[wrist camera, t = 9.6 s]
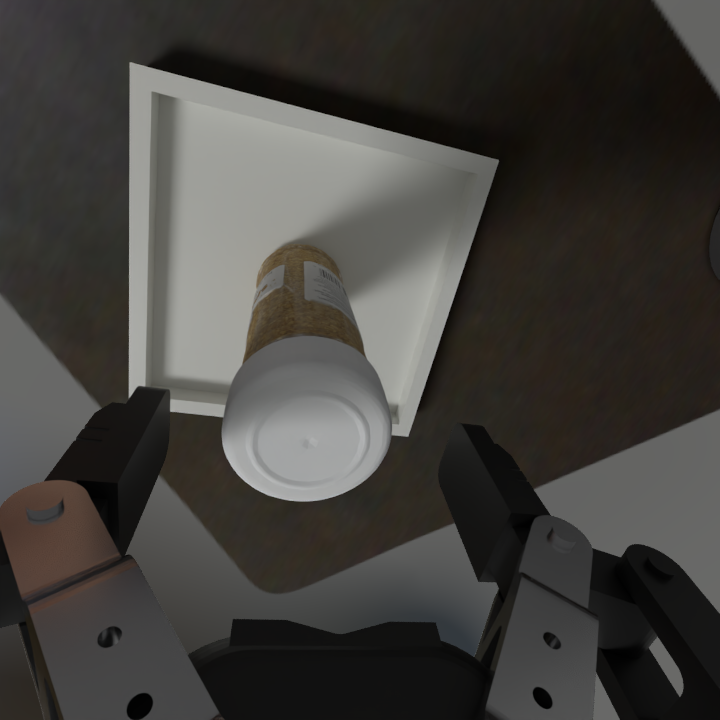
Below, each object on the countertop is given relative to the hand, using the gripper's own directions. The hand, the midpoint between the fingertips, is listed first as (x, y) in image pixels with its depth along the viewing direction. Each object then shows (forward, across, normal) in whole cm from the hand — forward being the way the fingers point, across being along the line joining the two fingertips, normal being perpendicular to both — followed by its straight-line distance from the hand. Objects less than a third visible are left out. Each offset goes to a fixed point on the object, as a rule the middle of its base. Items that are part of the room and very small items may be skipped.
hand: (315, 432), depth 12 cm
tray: (+13, 0, 0) cm, 13 cm away
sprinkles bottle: (+13, 0, 0) cm, 13 cm away
